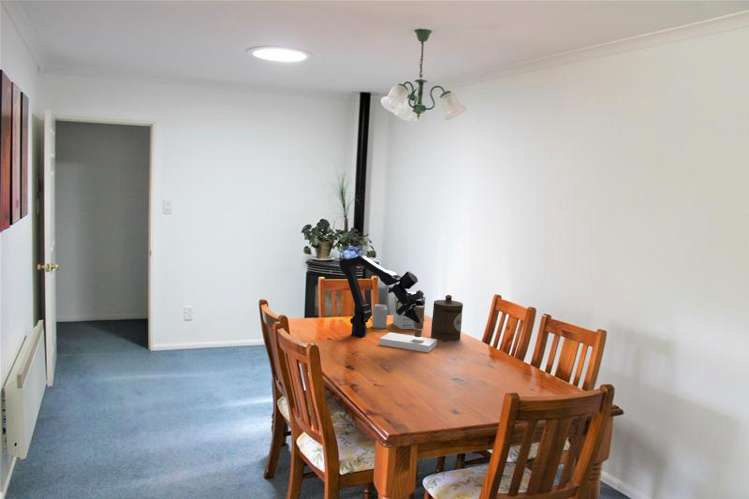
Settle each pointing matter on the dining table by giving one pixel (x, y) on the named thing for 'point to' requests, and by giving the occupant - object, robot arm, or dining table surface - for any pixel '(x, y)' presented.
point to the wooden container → (446, 319)
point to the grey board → (408, 342)
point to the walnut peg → (419, 326)
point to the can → (379, 316)
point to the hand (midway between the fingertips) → (421, 321)
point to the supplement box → (402, 320)
